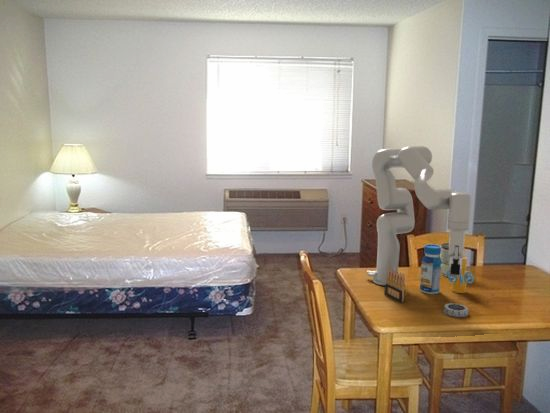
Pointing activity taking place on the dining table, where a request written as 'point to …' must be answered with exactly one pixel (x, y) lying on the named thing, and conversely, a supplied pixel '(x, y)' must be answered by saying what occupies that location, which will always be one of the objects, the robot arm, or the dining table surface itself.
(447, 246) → the coffee can
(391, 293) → the ammunition clip
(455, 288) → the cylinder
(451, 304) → the duct flange
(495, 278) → the dining table surface
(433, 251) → the blue lidded canister
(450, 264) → the silver metal cylinder
